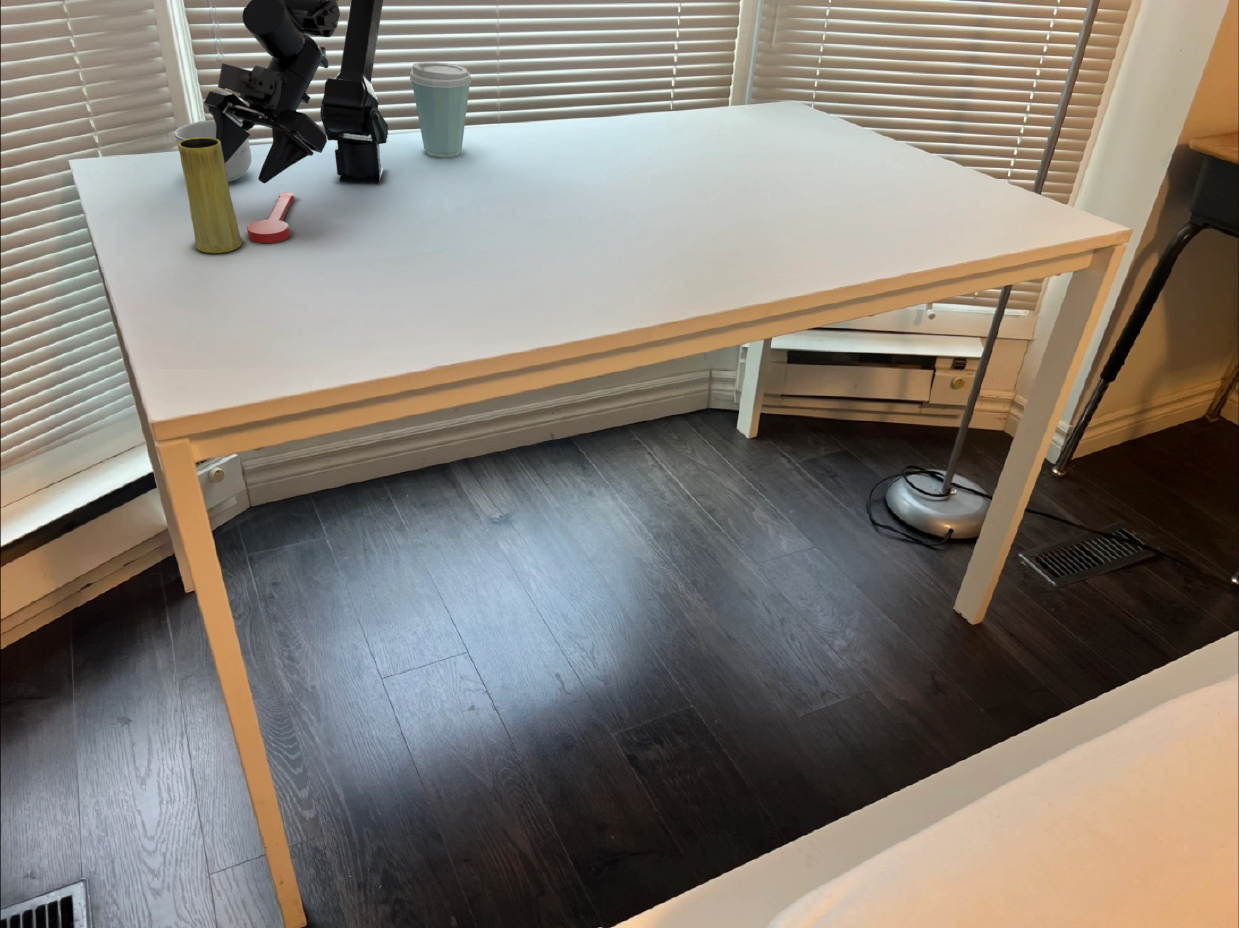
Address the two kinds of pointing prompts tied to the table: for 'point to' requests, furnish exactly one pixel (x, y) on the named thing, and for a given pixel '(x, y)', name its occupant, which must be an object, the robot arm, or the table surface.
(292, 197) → the spoon
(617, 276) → the table surface
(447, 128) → the disposable coffee cup
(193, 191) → the vase
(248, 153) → the teacup
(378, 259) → the table surface
